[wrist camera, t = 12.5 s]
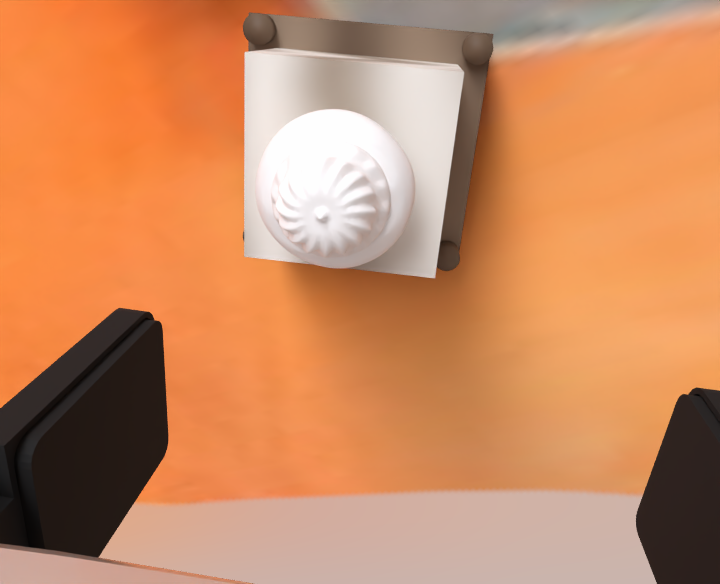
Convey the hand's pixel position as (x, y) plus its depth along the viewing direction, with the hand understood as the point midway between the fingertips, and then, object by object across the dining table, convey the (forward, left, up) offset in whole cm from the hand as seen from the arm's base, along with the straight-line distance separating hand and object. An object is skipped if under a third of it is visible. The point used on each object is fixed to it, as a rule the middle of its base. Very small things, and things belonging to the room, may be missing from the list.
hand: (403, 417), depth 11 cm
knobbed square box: (+3, 0, -29) cm, 29 cm away
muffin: (+3, 0, -17) cm, 17 cm away
